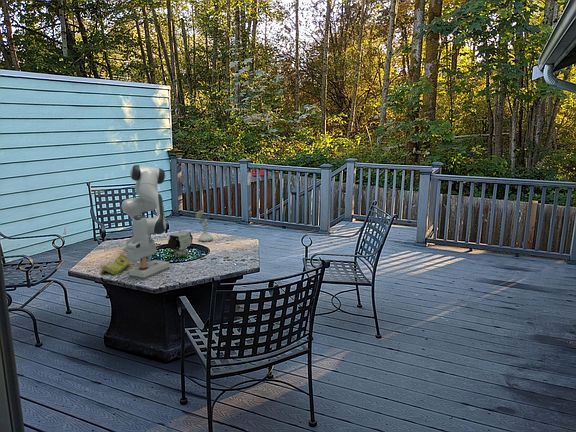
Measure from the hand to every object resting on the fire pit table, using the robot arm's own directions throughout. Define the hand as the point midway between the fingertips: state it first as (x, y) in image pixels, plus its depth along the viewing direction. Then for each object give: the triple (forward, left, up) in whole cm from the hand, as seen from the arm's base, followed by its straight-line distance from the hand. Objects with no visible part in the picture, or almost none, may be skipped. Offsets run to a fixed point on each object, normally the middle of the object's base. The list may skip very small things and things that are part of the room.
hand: (143, 264), depth 260 cm
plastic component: (-22, 0, -7) cm, 23 cm away
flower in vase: (-15, +80, -7) cm, 82 cm away
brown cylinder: (0, 0, -6) cm, 6 cm away
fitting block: (0, +5, -7) cm, 8 cm away
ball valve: (-4, +40, -7) cm, 41 cm away
